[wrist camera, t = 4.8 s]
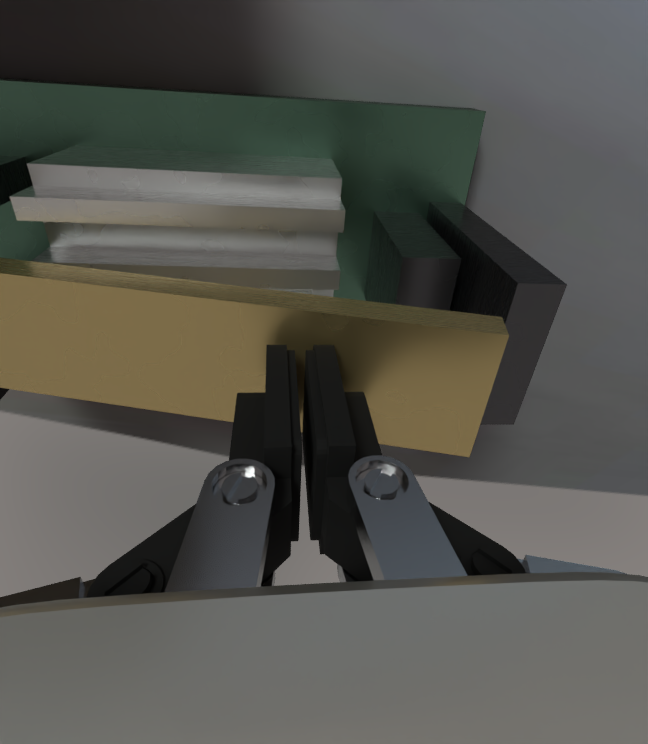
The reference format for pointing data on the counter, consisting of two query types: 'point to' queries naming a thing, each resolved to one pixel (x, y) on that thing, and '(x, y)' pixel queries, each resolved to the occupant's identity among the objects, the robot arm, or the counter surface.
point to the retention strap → (242, 348)
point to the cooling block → (269, 202)
